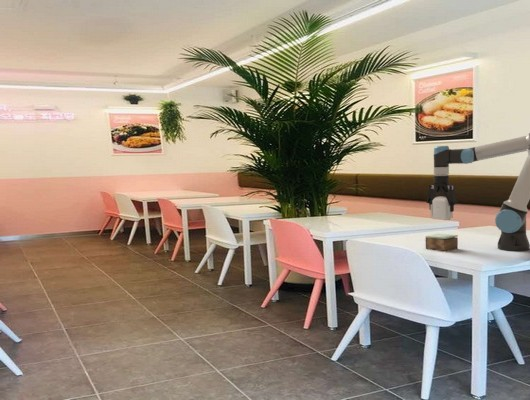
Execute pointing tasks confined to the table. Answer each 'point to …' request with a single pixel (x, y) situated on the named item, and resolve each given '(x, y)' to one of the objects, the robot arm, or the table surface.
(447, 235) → the lid
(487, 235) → the table surface
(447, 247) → the box carcass
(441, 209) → the photo printer
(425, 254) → the table surface
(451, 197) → the robot arm
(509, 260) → the table surface
